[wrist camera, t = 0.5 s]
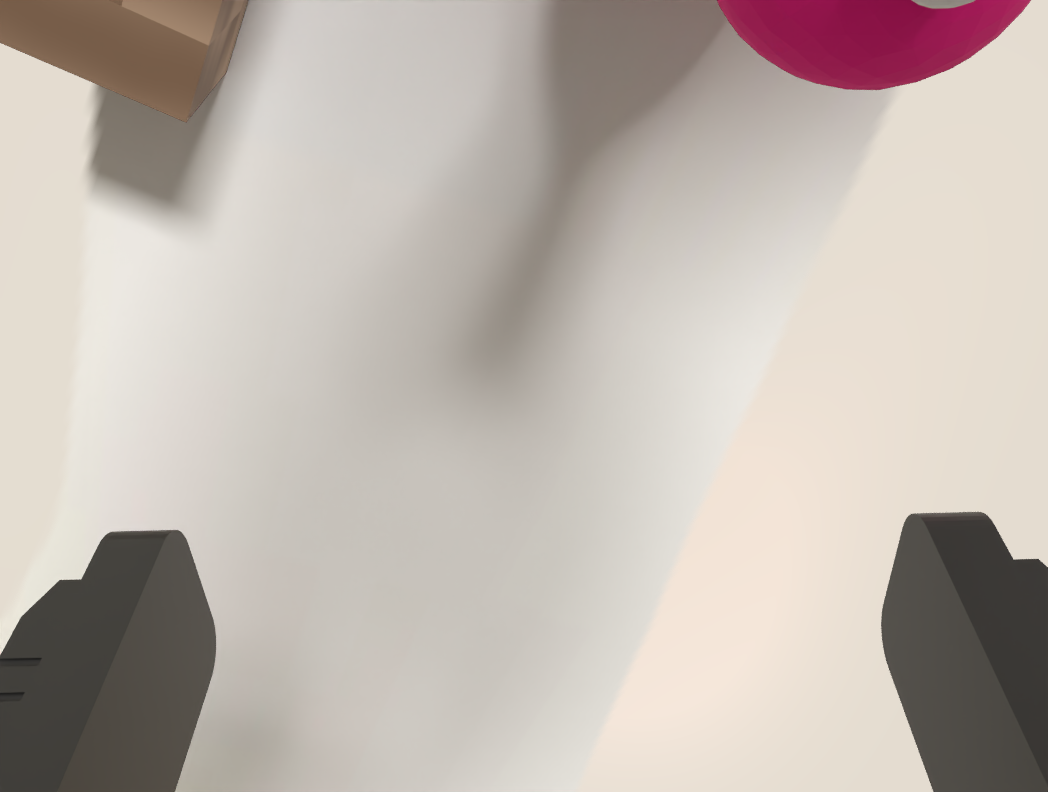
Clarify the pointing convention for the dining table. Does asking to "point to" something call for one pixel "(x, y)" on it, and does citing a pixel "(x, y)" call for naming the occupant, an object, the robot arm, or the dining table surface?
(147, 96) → the socket block
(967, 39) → the pepper mill
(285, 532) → the dining table surface
